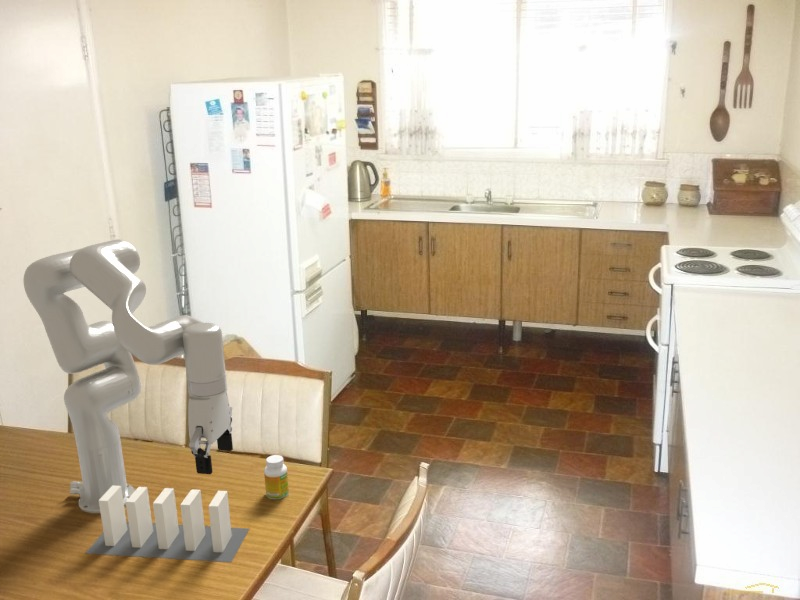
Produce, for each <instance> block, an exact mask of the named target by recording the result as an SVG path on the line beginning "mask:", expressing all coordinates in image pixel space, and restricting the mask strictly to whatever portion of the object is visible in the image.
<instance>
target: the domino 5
mask: <svg viewBox="0 0 800 600" xmlns="http://www.w3.org/2000/svg"><path fill="white" fill-rule="evenodd" d="M228 494H229V493H228V490H217V492H216V493H215V495H214V496H213V498H212V500H211V501H210V503H209V504H208V515H209V523H210V526H211V534H212V543H213V552H223V551H224V549H225V547H226V546H227V544H228V542H229V540H230V538H231V536H232V532H231V528H232V524H231V514H230V504H229V502H230V501H229V495H228Z"/></svg>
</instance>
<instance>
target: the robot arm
mask: <svg viewBox="0 0 800 600" xmlns="http://www.w3.org/2000/svg"><path fill="white" fill-rule="evenodd" d="M140 259H141V258H140V254H139V252H138V250H137V249H136V248H135V246H134V245H133V244H132V243H130V242H128V241H126V240H124V239H112V240H108V241H104V242H99V243H95V244H91V245H87V246H85V247H82V248H78V249H75V250H69V251H65V252H60V253H55V254H51V255H47V256H45V257H41V258H39V259H37V260H35V261H34V262H32V263H30V264H29V265H28V266H27V267H26V269H25V271H24V274H23V287H24V290H25V294H26V297H27V298H28V299H27V300H29V302H30V303H31V305H32V306H33V308H34V309H35V311H36V313H37V315H38V317H39V318H40V320H41V322H42V324H43V327H44V330H45V333H46V336H47V338H48V340H49V343H50V345H51V349H52V351H53V354H54V356H55V358H56V363H58V366H59V367H60V369H61V370H62V371H63V372H64V373H66V374H69V375H70V374H71V375H72V374H73V375H74V374H79V373H82V372H84V371H88V370H90V369H93V368H96V367H98V366H100V365H103V366H104V369H102V370H99V371H96V372H94V373H91V374H89V375H86V376H83V377H81V378H79V379H77V380H75V381H74V382H72V383H71V384H69V386H68V387H66V389H65V391H64V394H63V401H64V405H65V408H66V411H67V413H68V416H69V418H70V422H71V425H72V429H73V433H74V434H73V435H74V438H75V444H76V449H77V455H78V461H79V469H80V475H81V480H82V481H79V480H78V481H74V480H72V481H71V482H70V485H69V487H70V490H69V493H70V495H79V496H80V498H79V499H78V507H79V508H80V510H82V511H83V512H86V513H88V514H101V513H100V506H99V499H100V498H101V497H102V496H103V495H104V494H105V493H106V492H107V491H108V490H109V489H110V488H111V486H112V485H113V486H121V489H122V496H123V502H124V507H125V506H126V501H127V500H128V498H129V497H130V496H131V495H132V494H133V493H134V491H135V490H136V489H135V487H134V486H133V485H131V484H129V483H127V476H126V469H125V462H124V456H123V448H122V442H121V441H122V440H121V435H120V430H119V427H118V425H117V424H116V422H114V421H113V420H112V419H110V417H109V416H108V414H109V413H110V412H113V411H114V410H116V409H118V408H120V407H122V406H125V405H127V404H129V403H130V402H133V401H135V400H137V398H138V397H139V396H140V394H141V391H142V381H141V377H140V375H139V371H138V369H137V366H136V363H135V360H134V357H135V358H136V359H138V360H139V361H140V362H142V363H145V364H147V365H150V366H151V365H152V366H157V365H160V364H164V363H166V362H169V361H171V360H172V359H175V358H177V357H180V356H184V360H185V361H184V362H185V371H186V372H185V373H186V380H187V381H186V382H187V389H188V394H189V398H188V408H187V412H188V413H187V418H188V421H187V422H188V423H187V424H188V436H189V444H188V446H189V449H190V450H191V451H190V452H191V454H192V456H193V457H194V459H195V461H194V462H195V467H196V468H195V469H196V473H197V474H201V475H212V474H213V464H212V456H211V455H210V451H211V447H212V446H211V445H213V444H214V443H215V442H216V444H217V451H222V452H223V451H224V452H232V451H233V450H234V447H233V446H234V445H233V437H232V432H233V431H232V430H233V427H232V422H233V418H232V415H233V407H232V406H230V402H229V396H228V383H227V374H226V364H225V362H226V361H225V352H224V341H223V333H222V329H221V327H220V326H219V325H217V324H216V323H212V322H203V321H201V320H199V319H198V318H196V317H193V316H191V315H185V314H184V315H179V316H176V317H174V318H170V319H167V320H165V321H162V322H159V323H156V324H153V325H151V326H149V327H147V326H146V325H144V324H142V323H141V322H140V321H139V320H138V319H137V318H135V317H134V315H133V313H134V312H136V310H137V309H138V308H139V307H140V305H141V304H142V302H143V301H144V299H145V297H146V294H147V288H146V284H145V283H144V281H143V280H142V279H141V278H140V277H138V276H137V275H136V273H137V272H138V270H139V269H140V265H141V260H140ZM82 288H86V289H87V290H88V291H89V292H91V293H92V294H93V295H94V296H95V297H96V298H97V299H98V300H100V301H101V302H102V303H103V304H104V305H105V306H106V307H108V308H109V309H111V311H112V312H111V313H112V314H111V321H110V320H109V321H108V320H102V321H96V322H94V323H91V324H88V323H87V322H86V318H85V316H84V312H83V310H82V308H81V307H80V305H79V304H78V303H77V302H76V301H75V300H74V299H72V298H71V297H69V296H68V295H66V294H65V293H67V292H70V291H73V290H78V289H82ZM202 439H205V440H202ZM203 445H204V446H205V448H204V449H203V448H202V447H201V446H203Z"/></svg>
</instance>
